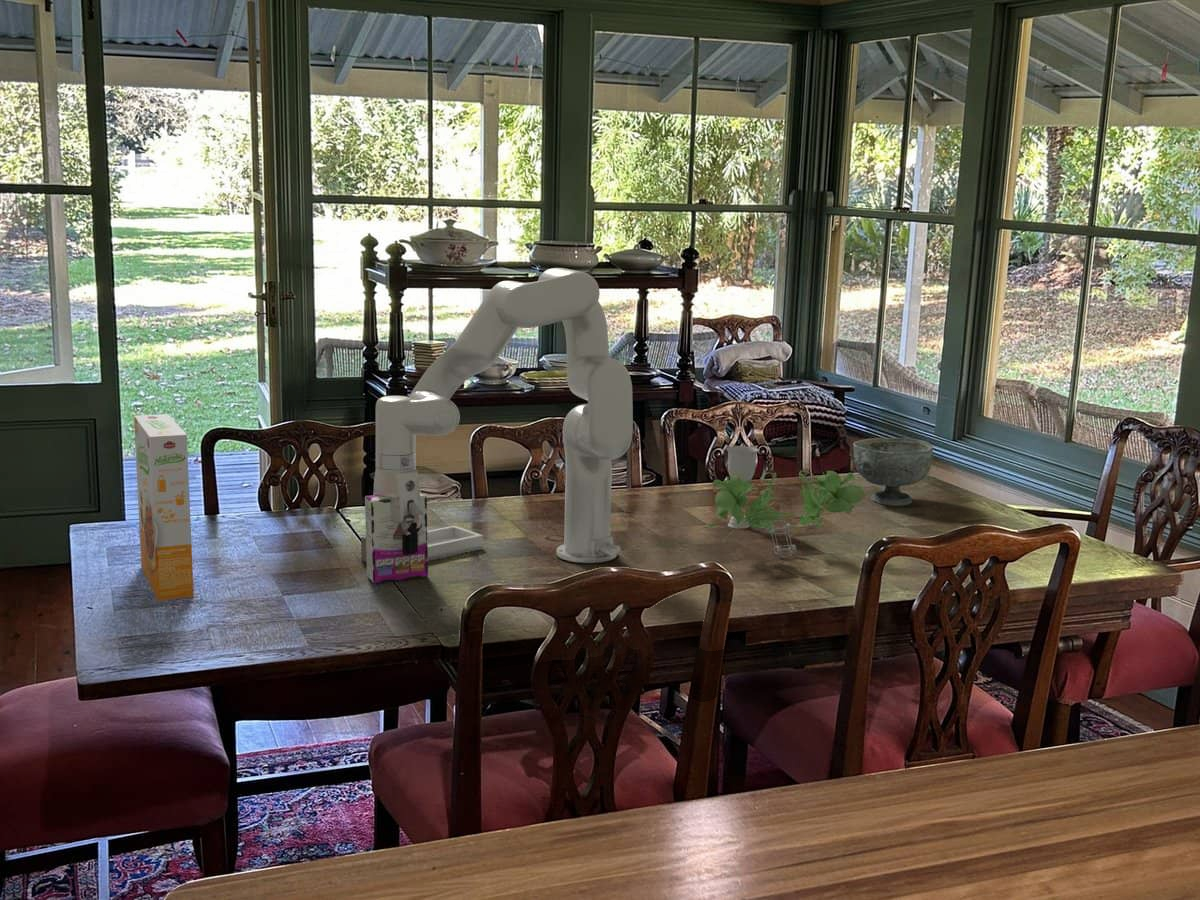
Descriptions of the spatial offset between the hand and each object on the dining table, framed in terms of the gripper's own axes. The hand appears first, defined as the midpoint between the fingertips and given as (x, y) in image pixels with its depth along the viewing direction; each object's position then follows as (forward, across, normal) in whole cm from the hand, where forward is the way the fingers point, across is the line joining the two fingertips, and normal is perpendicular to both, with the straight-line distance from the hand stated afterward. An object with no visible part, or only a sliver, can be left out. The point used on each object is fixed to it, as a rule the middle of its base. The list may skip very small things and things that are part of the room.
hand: (395, 548), depth 236 cm
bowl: (+5, -24, -132) cm, 135 cm away
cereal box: (+6, +25, +35) cm, 43 cm away
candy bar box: (+6, 0, 0) cm, 6 cm away
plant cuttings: (+5, -34, -74) cm, 82 cm away
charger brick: (+6, +12, -3) cm, 14 cm away
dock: (+6, +10, -17) cm, 21 cm away
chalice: (+5, -16, -83) cm, 85 cm away
